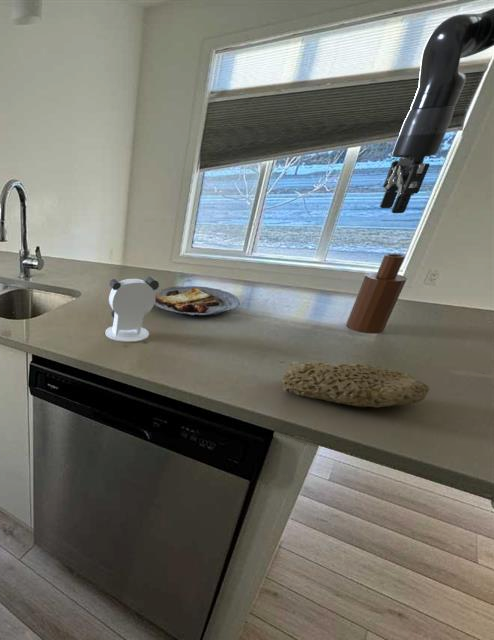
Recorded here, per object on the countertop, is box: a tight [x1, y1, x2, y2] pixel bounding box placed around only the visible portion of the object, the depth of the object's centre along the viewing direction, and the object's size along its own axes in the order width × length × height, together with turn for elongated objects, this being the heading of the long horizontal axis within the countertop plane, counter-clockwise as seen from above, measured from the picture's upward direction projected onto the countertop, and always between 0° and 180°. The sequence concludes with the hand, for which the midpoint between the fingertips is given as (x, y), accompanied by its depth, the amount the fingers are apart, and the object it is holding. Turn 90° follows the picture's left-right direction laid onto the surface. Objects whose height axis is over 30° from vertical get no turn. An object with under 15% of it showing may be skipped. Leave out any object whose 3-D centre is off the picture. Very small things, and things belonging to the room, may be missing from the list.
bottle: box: [345, 253, 408, 334], centre depth 97 cm, size 7×7×18 cm
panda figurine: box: [104, 276, 160, 343], centre depth 107 cm, size 12×11×15 cm
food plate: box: [154, 285, 241, 317], centre depth 123 cm, size 25×23×4 cm
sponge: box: [281, 361, 430, 408], centre depth 75 cm, size 13×8×20 cm
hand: (391, 210), depth 98 cm, fingers open, 7 cm apart
